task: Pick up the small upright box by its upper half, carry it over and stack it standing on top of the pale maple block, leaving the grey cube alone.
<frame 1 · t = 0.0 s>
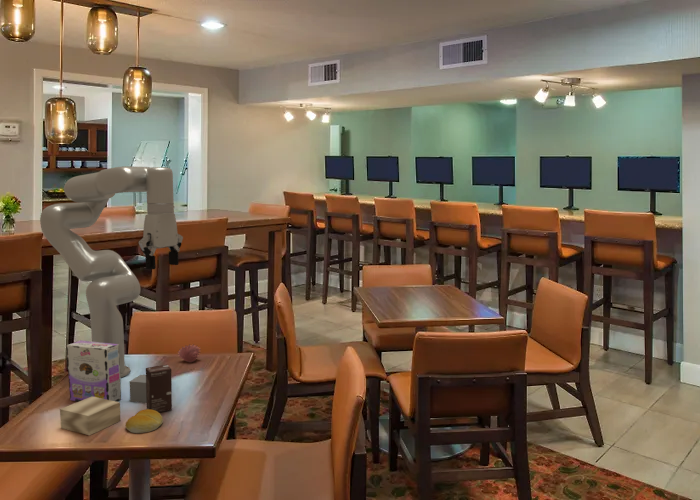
hand: (162, 266, 180), 37 cm above the table, tool pointing down, fingers open, 9 cm apart
grey cube: (145, 398, 174), on the table
box: (159, 411, 165), on the table
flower: (189, 362, 208), on the table
base block: (91, 424, 155), on the table
candy box: (95, 400, 173), on the table
bread roll: (144, 427, 154), on the table
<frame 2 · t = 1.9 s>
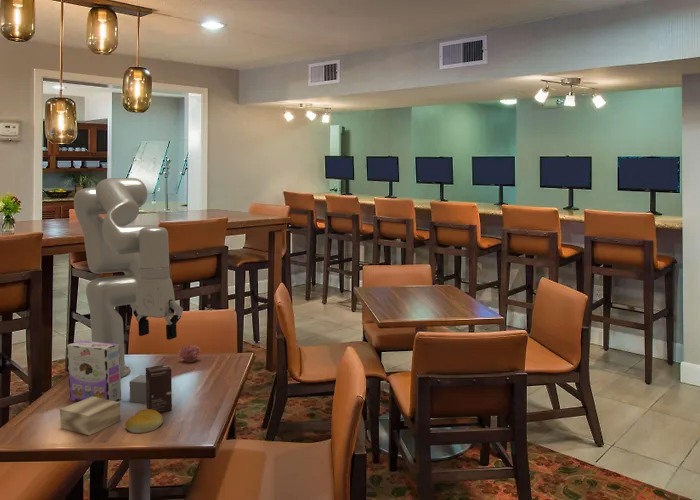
hand: (157, 336, 162), 21 cm above the table, tool pointing down, fingers open, 9 cm apart
nothing on the table moved.
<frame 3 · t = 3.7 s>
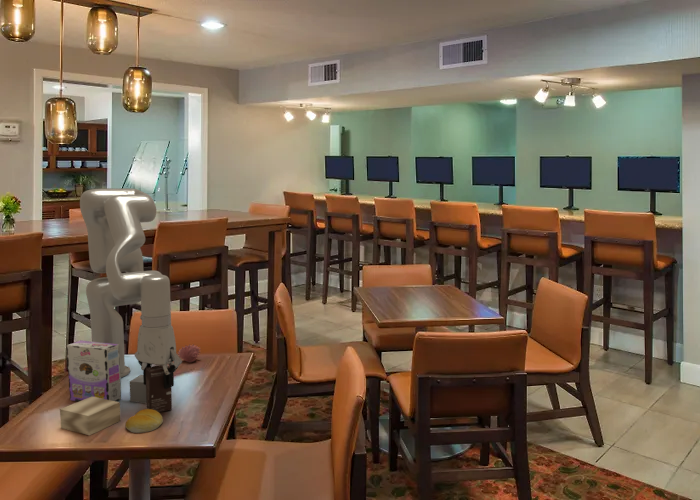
hand: (158, 384, 164), 7 cm above the table, tool pointing down, fingers closed on box, 6 cm apart
box: (159, 410, 165), on the table, touching gripper
everything else where it was.
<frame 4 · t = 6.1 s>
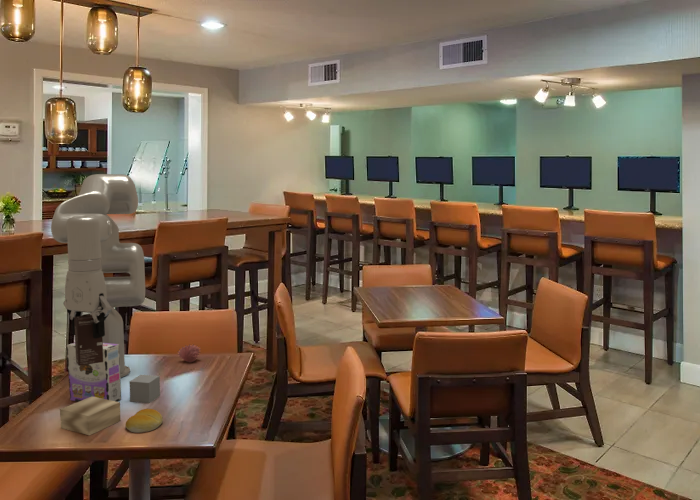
hand: (88, 334, 153), 24 cm above the table, tool pointing down, fingers closed on box, 6 cm apart
box: (90, 363, 154), point 16 cm above the table, touching gripper
everything else where it was.
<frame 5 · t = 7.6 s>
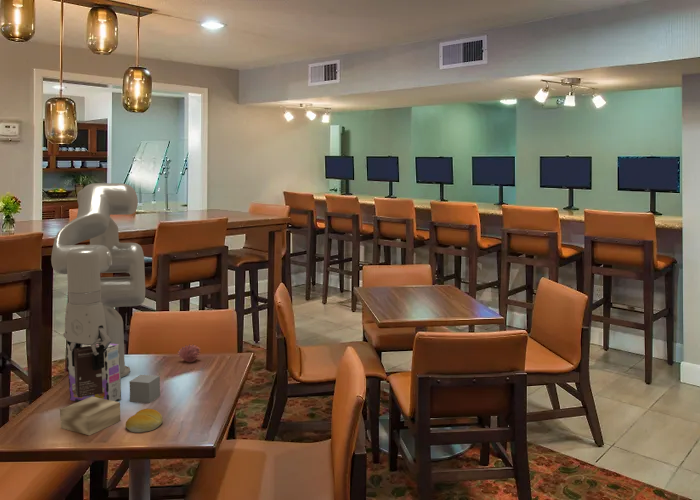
hand: (88, 366, 153), 15 cm above the table, tool pointing down, fingers closed on box, 6 cm apart
box: (89, 394, 154), point 8 cm above the table, touching gripper
everything else where it was.
when the fingers open (13 cm above the table, at t = 8.6 s): box stays where it is, resting on base block.
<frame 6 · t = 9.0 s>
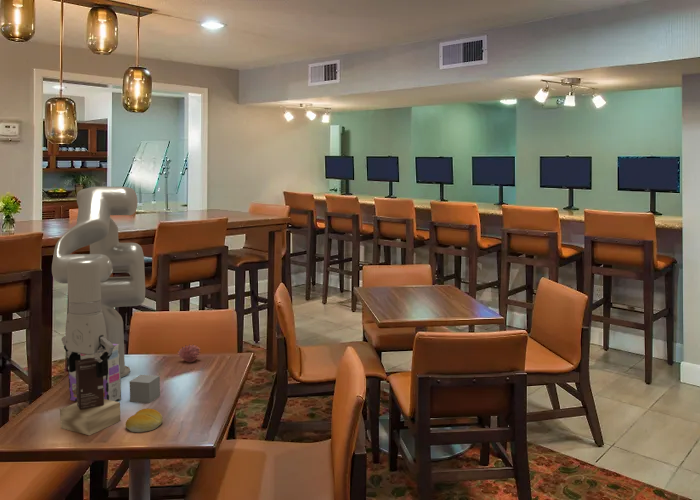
hand: (88, 373, 154), 14 cm above the table, tool pointing down, fingers open, 9 cm apart
box: (90, 406, 155), point 5 cm above the table, touching base block
everything else where it was.
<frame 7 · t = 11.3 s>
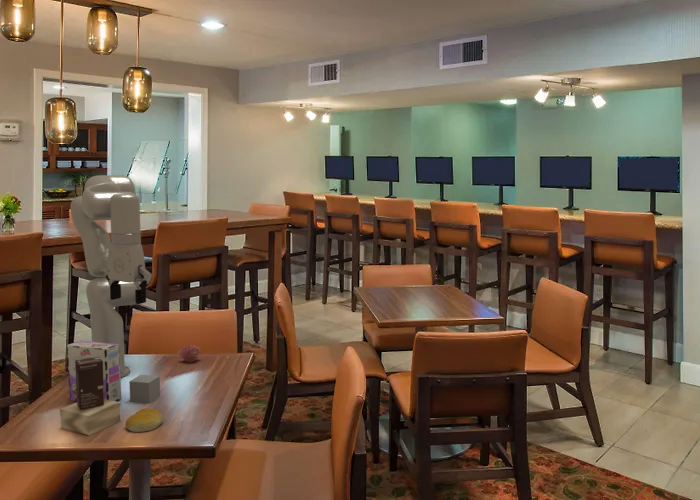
hand: (128, 300, 166), 29 cm above the table, tool pointing down, fingers open, 9 cm apart
nothing on the table moved.
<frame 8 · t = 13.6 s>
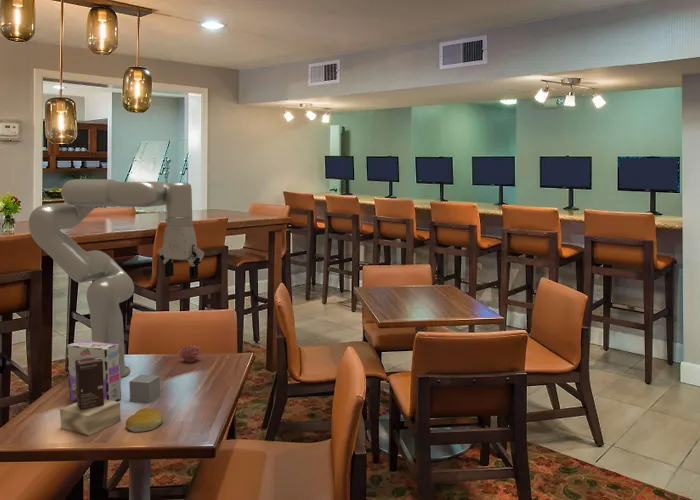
hand: (181, 277, 188), 32 cm above the table, tool pointing down, fingers open, 9 cm apart
nothing on the table moved.
at the end: box inside the target area on the base block (0.1 cm from its centre), point 4.8 cm above the base block's base; box tilted 0°; the gripper is holding nothing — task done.
